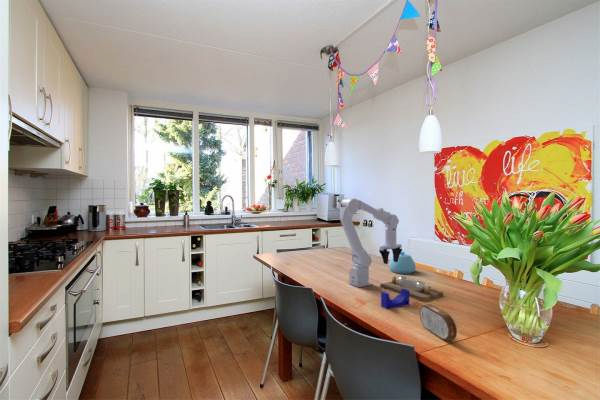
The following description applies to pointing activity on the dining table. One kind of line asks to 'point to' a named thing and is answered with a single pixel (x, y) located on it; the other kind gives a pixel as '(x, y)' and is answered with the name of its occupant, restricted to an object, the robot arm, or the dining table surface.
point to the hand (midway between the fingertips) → (390, 262)
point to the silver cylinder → (412, 284)
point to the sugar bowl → (402, 264)
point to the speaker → (438, 322)
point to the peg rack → (412, 291)
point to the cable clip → (395, 299)
